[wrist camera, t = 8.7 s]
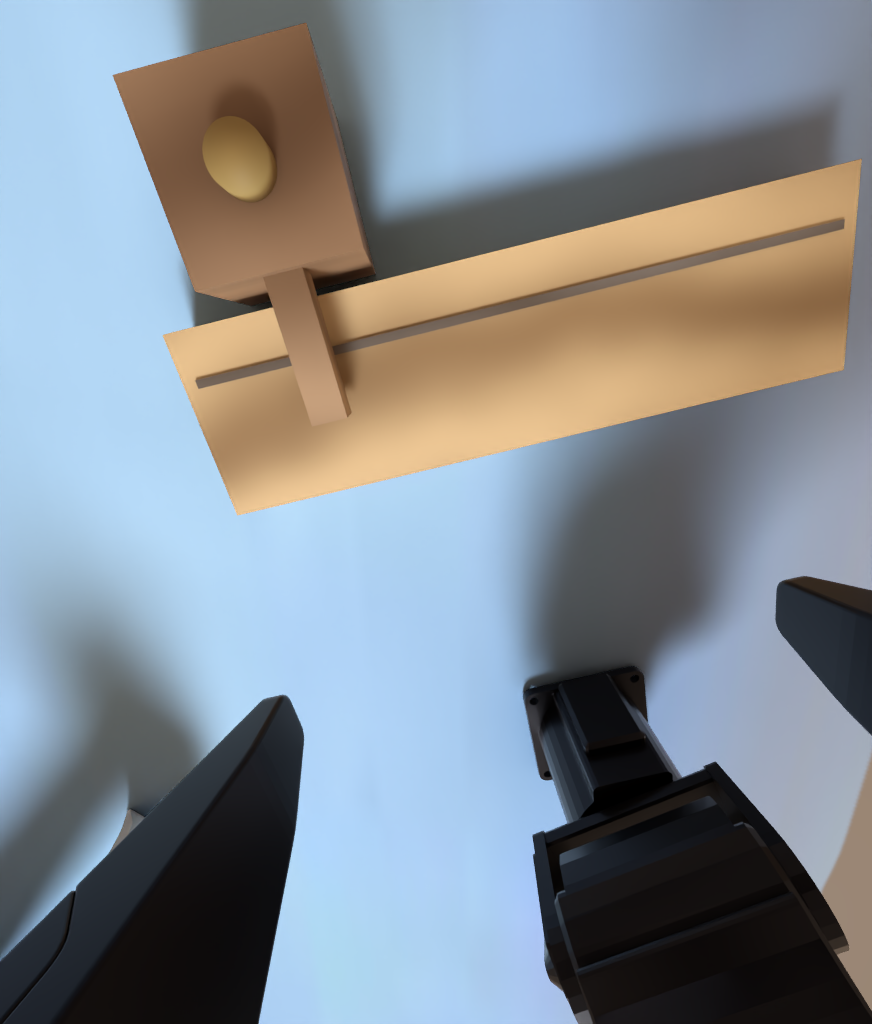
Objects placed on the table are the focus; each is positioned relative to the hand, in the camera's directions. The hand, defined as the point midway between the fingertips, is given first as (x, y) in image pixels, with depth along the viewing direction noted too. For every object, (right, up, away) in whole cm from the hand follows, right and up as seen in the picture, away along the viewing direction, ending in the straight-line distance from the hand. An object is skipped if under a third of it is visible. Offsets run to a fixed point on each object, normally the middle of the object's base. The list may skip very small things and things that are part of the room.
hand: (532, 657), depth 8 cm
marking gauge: (-7, +11, +9) cm, 16 cm away
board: (+1, +9, +11) cm, 14 cm away
